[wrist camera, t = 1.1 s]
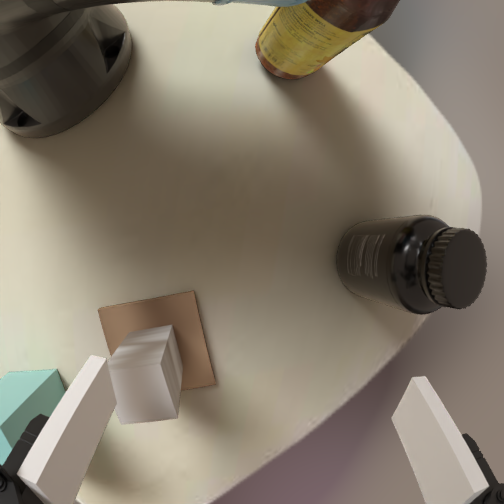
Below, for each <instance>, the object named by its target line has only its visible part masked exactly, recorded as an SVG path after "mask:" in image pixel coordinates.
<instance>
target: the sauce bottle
mask: <svg viewBox="0 0 504 504" xmlns="http://www.w3.org/2000/svg"><path fill="white" fill-rule="evenodd" d="M399 1H400V0H308V1H306V2H304V3H302V4H299V5H295V6H289V7H276V8H275V9H274V11H273V12H272V14H271V15H270V17H269V18H268V20H267V21H266V23H265V25H264V26H263V28H262V29H261V31H260V33H259V37H258V39H257V42H256V46H255V48H256V54H257V56H258V58H259V60H260V61H261V64H262V65H263V66H264V67H265V68H266V69H267V70H268V71H270V72H271V73H272V74H274V75H276V76H278V77H281V78H285V79H299V78H302V77H304V76H307V75H309V74H311V73H314V72H315V71H317V70H318V69H319V68H321V67H322V66H323V65H325V64H326V63H327V62H329V61H330V60H331V59H333V58H334V57H335V56H337V55H338V54H340V53H341V52H343V51H344V50H345V49H347V48H348V47H349V46H351V45H352V44H354V43H355V42H357V41H358V40H360V39H361V38H362V37H364V36H365V35H367V34H368V33H370V32H371V31H373V30H374V29H376V28H377V27H379V26H380V25H382V24H383V23H385V22H386V21H387V20H388V19H389V17H390V16H391V14H392V12H393V11H394V9H395V8H396V6H397V4H398V2H399Z"/></svg>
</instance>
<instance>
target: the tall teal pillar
mask: <svg viewBox="0 0 504 504" xmlns="http://www.w3.org/2000/svg"><path fill="white" fill-rule="evenodd" d="M65 393H66V392H65V389H64V387H63V384H62V382H61V379H60V376H59V374H58V371H57V369H52V370H38V371H20V372H9V373H7V374H6V375H5V376H3V377H2V378H1V379H0V464H1V465H3V464H4V462H5V461H6V459H7V457H8V456H9V454H10V452H11V451H12V449H13V447H14V446H15V444H16V443H17V441H18V439H20V436H21V435H22V433H23V432H24V431H25V428H26V427H27V425H28V424H29V422H30V421H31V420H32V419H33V418H35V417H36V416H38V415H39V414H43V415H45V416H48V417H50V416H51V415H52V413H53V411H54V410H55V408H56V407H57V405H58V403H59V402H60V400H61V399H62V397H63V396H64V394H65Z"/></svg>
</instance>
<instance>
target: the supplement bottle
mask: <svg viewBox="0 0 504 504" xmlns="http://www.w3.org/2000/svg"><path fill="white" fill-rule="evenodd" d="M486 267H487V262H486V253H485V249H484V245H483V243H482V241H481V239H480V238H479V237H478V234H475V232H474V231H471V230H470V229H464V228H453V227H449V226H448V225H447V224H446V223H445V222H444V221H442V220H441V219H439V218H437V217H434V216H431V215H416V216H407V217H397V218H388V219H379V220H371V221H364V222H361V223H358V224H356V225H355V226H353V227H352V228H351V229H349V230H348V231H347V233H346V234H345V235H344V237H343V238H342V240H341V242H340V245H339V248H338V252H337V269H338V273H339V276H340V278H341V280H342V282H343V284H344V285H345V286H346V287H347V288H348V290H350V291H351V292H352V293H354V294H356V295H358V296H361V297H363V298H366V299H369V300H372V301H375V302H378V303H381V304H385V305H388V306H391V307H394V308H397V309H400V310H403V311H406V312H410V313H414V314H420V315H422V314H429V313H432V312H434V311H436V310H438V309H440V308H441V307H450V308H456V309H462V308H466V307H467V306H470V305H471V304H472V303H474V301H475V300H476V299H477V298H478V296H479V294H480V293H481V289H482V288H483V285H484V281H485V276H486Z"/></svg>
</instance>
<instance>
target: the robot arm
mask: <svg viewBox="0 0 504 504" xmlns="http://www.w3.org/2000/svg"><path fill="white" fill-rule="evenodd" d="M145 1H200V2H212V3H213V4H214V5H225V4H228V3H248V4H259V5H268V6H276V7H289V6H295V5H299V4H302V3H304V2H306V1H308V0H0V123H1V124H2V125H3V126H4V127H6V128H8V129H9V130H11V131H12V132H14V133H16V134H18V135H20V136H24V137H29V138H40V137H46V136H50V135H54V134H57V133H59V132H62V131H64V130H66V129H68V128H70V127H72V126H74V125H76V124H77V123H79V122H80V121H82V120H83V119H85V118H86V117H87V116H89V115H90V114H91V113H93V112H94V111H95V110H96V109H97V108H98V107H99V106H100V105H101V104H102V103H103V102H104V101H105V100H106V99H107V98H108V97H109V96H110V94H111V93H112V92H113V91H114V89H115V88H116V87H117V85H118V84H119V82H120V80H121V79H122V77H123V75H124V73H125V71H126V69H127V66H128V64H129V61H130V57H131V51H132V40H131V35H130V32H129V28H128V25H127V22H126V19H125V18H124V16H123V14H122V13H121V12H120V10H119V9H118V8H117V7H116V6H114V5H113V4H118V3H130V2H145ZM116 404H117V401H116V397H115V393H114V389H113V385H112V381H111V376H110V372H109V367H108V363H107V358H103V357H98V356H94V355H90V357H89V358H88V360H87V361H86V363H85V364H84V366H83V367H82V369H81V370H80V372H79V373H78V375H77V376H76V377H75V379H74V380H73V382H72V383H71V385H70V387H69V388H68V390H67V391H66V393H65V394H64V396H63V397H62V399H61V400H60V402H59V403H58V405H57V407H56V408H55V410H54V411H53V413H52V415H51V416H50V417H48V416H45V415H43V414H39V415H38V416H36V417H35V418H33V419H32V420H31V421H30V422H29V424H28V425H27V427H26V428H25V431H24V432H23V433H22V435H21V436H20V439H18V441H17V443H16V444H15V446H14V447H13V449H12V451H11V452H10V454H9V456H8V457H7V459H6V461H5V462H4V464H3V465H1V464H0V504H74V501H75V499H76V496H77V494H78V491H79V489H80V486H81V484H82V481H83V479H84V476H85V474H86V472H87V469H88V467H89V465H90V462H91V460H92V458H93V455H94V453H95V451H96V448H97V446H98V444H99V442H100V439H101V437H102V435H103V433H104V430H105V428H106V426H107V424H108V421H109V419H110V417H111V415H112V413H113V411H114V408H115V406H116ZM391 419H392V421H393V423H394V426H395V428H396V430H397V433H398V435H399V437H400V440H401V442H402V445H403V447H404V449H405V452H406V454H407V456H408V459H409V462H410V464H411V467H412V469H413V471H414V474H415V477H416V479H417V482H418V484H419V487H420V489H421V492H422V494H423V497H424V500H425V503H426V504H504V484H502V483H501V484H499V483H498V481H497V480H496V478H495V476H494V474H493V473H492V471H491V469H490V467H489V465H488V463H487V462H486V460H485V458H483V454H482V453H481V451H479V447H478V446H477V444H476V442H475V441H474V440H473V439H472V438H471V437H470V436H469V435H468V434H463V435H461V434H460V432H459V430H458V428H457V427H456V425H455V423H454V421H453V420H452V418H451V417H450V415H449V413H448V412H447V410H446V409H445V406H444V405H443V403H442V402H441V400H440V399H439V397H438V395H437V394H436V392H435V390H434V389H433V387H432V386H431V384H430V383H429V381H428V380H427V378H426V377H425V376H421V377H412V379H411V381H410V383H409V385H408V387H407V389H406V391H405V393H404V395H403V397H402V399H401V401H400V403H399V405H398V407H397V409H396V411H395V412H394V415H393V416H392V418H391Z"/></svg>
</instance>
